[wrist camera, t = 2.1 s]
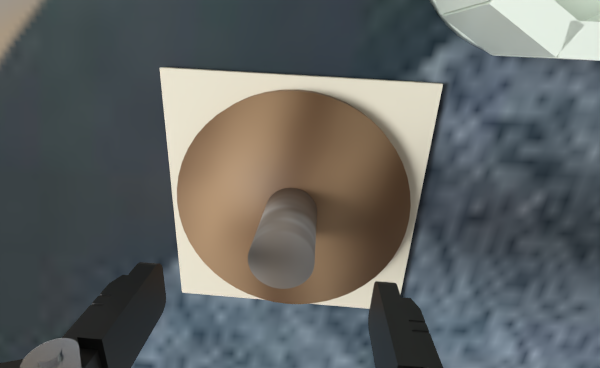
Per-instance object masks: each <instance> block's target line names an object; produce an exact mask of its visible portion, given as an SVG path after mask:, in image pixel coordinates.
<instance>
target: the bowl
mask: <svg viewBox="0 0 600 368" xmlns="http://www.w3.org/2000/svg"><path fill="white" fill-rule="evenodd" d="M429 1H430V2H431V4H432V6H433V7H434V9H435V11H436V12H437V14H438V15H439V17H440V18H441V19H442V20H443V22H444V23H445V24H446V25H447V26H448V27H449V28H450V29H451V30H452V31H453V32H454V33H455V34H456V35H457V36H459V37H460V38H462V39H463V40H465V41H466V42H468V43H469V44H471V45H473V46H475V47H477V48H480V49H482V50H484V51H486V52H488V53H489V54H490V55H494V56H512V57H531V58H549V59H569V60H591V61H600V0H429Z"/></svg>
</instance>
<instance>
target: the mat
mask: <svg viewBox="0 0 600 368" xmlns="http://www.w3.org/2000/svg"><path fill="white" fill-rule="evenodd" d="M160 77H161V87H162V96H163V106H164V116H165V126H166V136H167V146H168V156H169V166H170V176H171V186H172V196H173V206H174V216H175V226H176V236H177V246H178V256H179V266H180V276H181V286H182V293H194V294H206V295H217V296H229V297H240V298H252V299H261V298H258V297H255V296H252V295H250V294H247V293H245V292H243V291H241V290H239V289H237V288H235V287H234V286H232V285H230V284H229V283H227V282H226V281H224V280H223V279H222V278H220V277H219V276H218V275H216V274H215V273H214V272H213V271H212V270H211V269H210V268H209V267H208V266H207V265H206V264H205V263H204V262H203V261H202V259H201V258H200V257H199V256H198V254H197V253H196V252H195V250H194V249H193V247H192V245H191V244H190V242H189V240H188V238H187V236H186V234H185V231H184V229H183V226H182V223H181V220H180V217H179V211H178V205H177V183H178V175H179V171H180V168H181V164H182V161H183V159H184V156H185V154H186V152H187V149H188V148H189V146H190V144H191V143H192V141H193V140H194V138H195V136H196V135H197V134H198V133H199V132H200V131H201V129H202V128H203V127H204V126H205V125H206V124H207V123H208V122H209V121H210V120H212V119H213V118H214V117H215V116H216V115H217V114H219V113H220V112H222V111H224V110H225V109H227V108H228V107H230V106H231V105H233V104H235V103H237V102H239V101H241V100H243V99H245V98H248V97H250V96H253V95H257V94H260V93H263V92H268V91H275V90H291V89H299V90H306V91H314V92H318V93H322V94H326V95H329V96H332V97H335V98H337V99H339V100H342V101H344V102H346V103H348V104H350V105H351V106H353V107H355V108H357V109H358V110H360V111H361V112H362V113H364V114H365V115H366V116H367V117H369V118H370V119H371V120H373V122H374V123H375V124H376V125H377V126H378V127H379V128H380V129H381V130H382V131H383V132H384V134H385V135H386V136H387V138H388V139H389V141H390V142H391V143H392V145H393V146H394V148H395V149H396V151H397V153H398V155H399V157H400V159H401V161H402V163H403V165H404V168H405V171H406V174H407V177H408V182H409V188H410V200H411V208H410V217H409V222H408V226H407V230H406V233H405V236H404V238H403V241H402V243H401V245H400V247H399V249H398V250H397V252H396V254H395V255H394V257H393V258H392V260H391V261H390V262H389V263H388V265H387V266H386V267H385V268H384V269H383V270H382V271H381V272H380V273H379V274H378V275H377V276H376V277H375V278H373V279H372V280H371V281H369V282H368V283H367V284H365V285H364V286H362V287H360V288H358V289H357V290H355V291H353V292H351V293H349V294H346V295H344V296H341V297H339V298H335V299H332V300H328V301H323V302H318V303H310V304H322V305H333V306H345V307H356V308H368V309H370V304H371V298H372V293H373V287H374V283H375V281H379V282H392V283H396V284H397V286H398V289H399V292H400V294H401V290H402V285H403V280H404V275H405V270H406V265H407V260H408V255H409V250H410V245H411V240H412V235H413V230H414V225H415V220H416V215H417V210H418V205H419V201H420V196H421V191H422V186H423V181H424V176H425V171H426V166H427V161H428V156H429V151H430V146H431V141H432V136H433V131H434V126H435V121H436V117H437V112H438V107H439V102H440V97H441V92H442V87H443V84H441V83H430V82H413V81H396V80H378V79H361V78H344V77H327V76H309V75H292V74H275V73H258V72H240V71H223V70H206V69H189V68H171V67H161V68H160ZM264 300H265V299H264Z"/></svg>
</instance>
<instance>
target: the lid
mask: <svg viewBox="0 0 600 368" xmlns="http://www.w3.org/2000/svg"><path fill="white" fill-rule="evenodd" d="M177 205H178V211H179V217H180V220H181V223H182V226H183V229H184V231H185V234H186V236H187V238H188V240H189V242H190V244H191V245H192V247H193V249H194V250H195V252H196V253H197V254H198V256H199V257H200V258H201V259H202V261H203V262H204V263H205V264H206V265H207V266H208V267H209V268H210V269H211V270H212V271H213V272H214V273H215V274H216V275H218V276H219V277H220V278H222V279H223V280H224V281H226V282H227V283H229V284H230V285H232V286H234V287H235V288H237V289H239V290H241V291H243V292H245V293H247V294H250V295H252V296H255V297H258V298H261V299H265V300H269V301H273V302H279V303H286V304H309V303H318V302H323V301H328V300H332V299H335V298H339V297H341V296H344V295H346V294H349V293H351V292H353V291H355V290H357V289H358V288H360V287H362V286H364V285H365V284H367V283H368V282H369V281H371V280H372V279H373V278H375V277H376V276H377V275H378V274H379V273H380V272H381V271H382V270H383V269H384V268H385V267H386V266H387V265H388V263H389V262H390V261H391V260H392V258H393V257H394V255H395V254H396V252H397V250H398V249H399V247H400V245H401V243H402V241H403V238H404V236H405V233H406V230H407V226H408V222H409V217H410V208H411V200H410V188H409V182H408V177H407V174H406V171H405V168H404V165H403V163H402V161H401V159H400V157H399V155H398V153H397V151H396V149H395V148H394V146H393V145H392V143H391V142H390V141H389V139H388V138H387V136H386V135H385V134H384V132H383V131H382V130H381V129H380V128H379V127H378V126H377V125H376V124H375V123H374V122H373V120H371V119H370V118H369V117H367V116H366V115H365V114H364V113H362V112H361V111H360V110H358V109H357V108H355V107H353V106H351V105H350V104H348V103H346V102H344V101H342V100H339V99H337V98H335V97H332V96H329V95H326V94H322V93H318V92H314V91H306V90H299V89H291V90H275V91H268V92H263V93H260V94H257V95H253V96H250V97H248V98H245V99H243V100H241V101H239V102H237V103H235V104H233V105H231V106H230V107H228V108H227V109H225V110H224V111H222V112H220V113H219V114H217V115H216V116H215V117H214V118H213V119H212V120H210V121H209V122H208V123H207V124H206V125H205V126H204V127H203V128H202V129H201V131H200V132H199V133H198V134H197V135H196V136H195V138H194V140H193V141H192V143H191V144H190V146H189V148H188V149H187V152H186V154H185V156H184V159H183V161H182V164H181V168H180V171H179V175H178V183H177Z"/></svg>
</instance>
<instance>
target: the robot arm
mask: <svg viewBox="0 0 600 368" xmlns="http://www.w3.org/2000/svg"><path fill="white" fill-rule="evenodd" d="M165 303H166V293H165V284H164V276H163V268H162V265H161V264H155V263H142V262H140V263H138V264H137V265H136V266H135V267H134V269H133V270H132V271H131V272H130V273H129V275H122V276H120V277H119V278H117V279H116V280H114V281H112V282H111V283H109V284H108V285H107V287H106V288H105V289H104V290H103V291H102V292H101V294H100V296H98V297H97V298H96V299H95V300H94V302H93V303H92V305H90V306H89V307H88V308H87V310H86V311H85V312H84V313H83V314H82V315H81V316H80V318H79V319H78V320H77V321H76V322H75V323H74V324H73V326H72V327H71V328H70V329H69V330H68V331H67V332H66V334H65V335H64V336H63V337H62V338H59V339H54V340H51V341H48V342H46V343H44V344H42V345H40V346H38V347H36V348H35V349H34V350H32V351H31V352H30V353H29V354H28V355H27V356H26V357H25V358H24V359H21V360H16V361H10V362H4V363H0V368H131V366H132V365H133V363H134V361H135V360H136V358H137V356H138V354H139V353H140V351H141V349H142V347H143V346H144V344H145V342H146V341H147V339H148V337H149V335H150V334H151V332H152V330H153V328H154V327H155V325H156V323H157V322H158V320H159V318H160V316H161V315H162V313H163V310H164V307H165ZM368 325H369V334H370V340H371V345H372V351H373V356H374V362H375V367H376V368H443V366H442V364H441V361H440V359H439V356H438V353H437V351H436V348H435V346H434V343H433V341H432V338H431V335H430V334H429V330H428V328H427V325H426V323H425V320H424V317H423V315H422V312H421V310H420V308H419V307H418V306H417V305H416V304H415V303H414V302H413V300H412V299H411V298H401V295H400V292H399V289H398V286H397V284H396V283H392V282H379V281H375V283H374V287H373V293H372V298H371V304H370V310H369V318H368Z"/></svg>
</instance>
